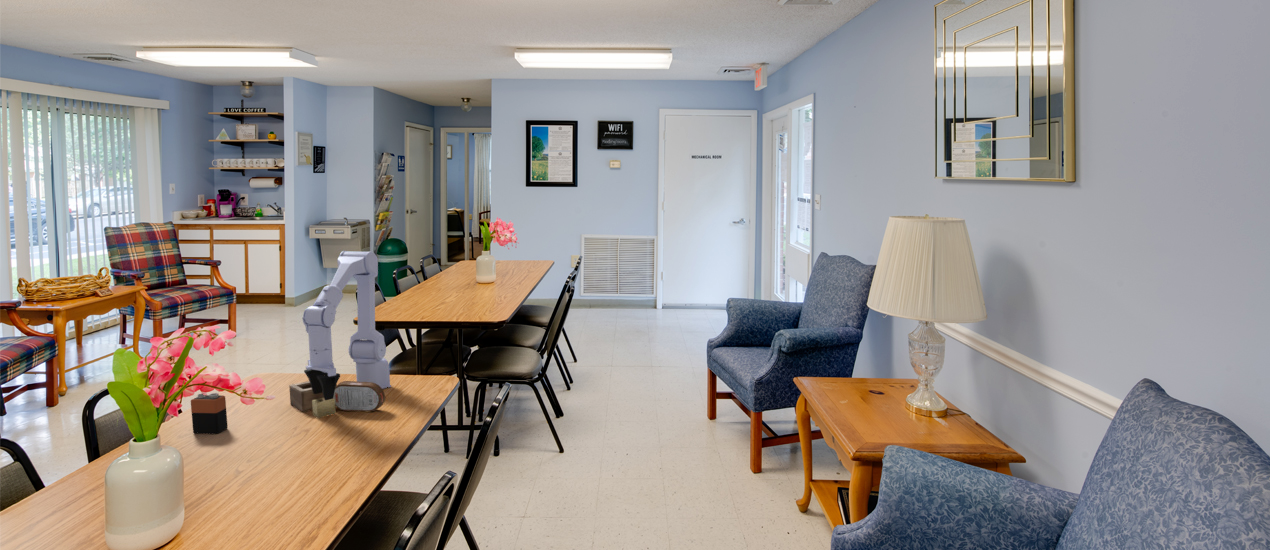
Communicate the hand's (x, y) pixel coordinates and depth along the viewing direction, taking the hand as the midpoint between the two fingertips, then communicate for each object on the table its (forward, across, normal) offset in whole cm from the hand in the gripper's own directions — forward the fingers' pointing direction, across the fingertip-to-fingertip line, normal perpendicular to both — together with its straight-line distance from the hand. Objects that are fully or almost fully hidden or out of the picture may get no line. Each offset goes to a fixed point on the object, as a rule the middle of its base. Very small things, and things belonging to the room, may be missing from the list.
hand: (323, 396), depth 191 cm
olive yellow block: (+5, 0, 0) cm, 5 cm away
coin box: (+5, -11, +2) cm, 12 cm away
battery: (+6, -8, -26) cm, 28 cm away
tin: (+6, +3, +8) cm, 11 cm away
